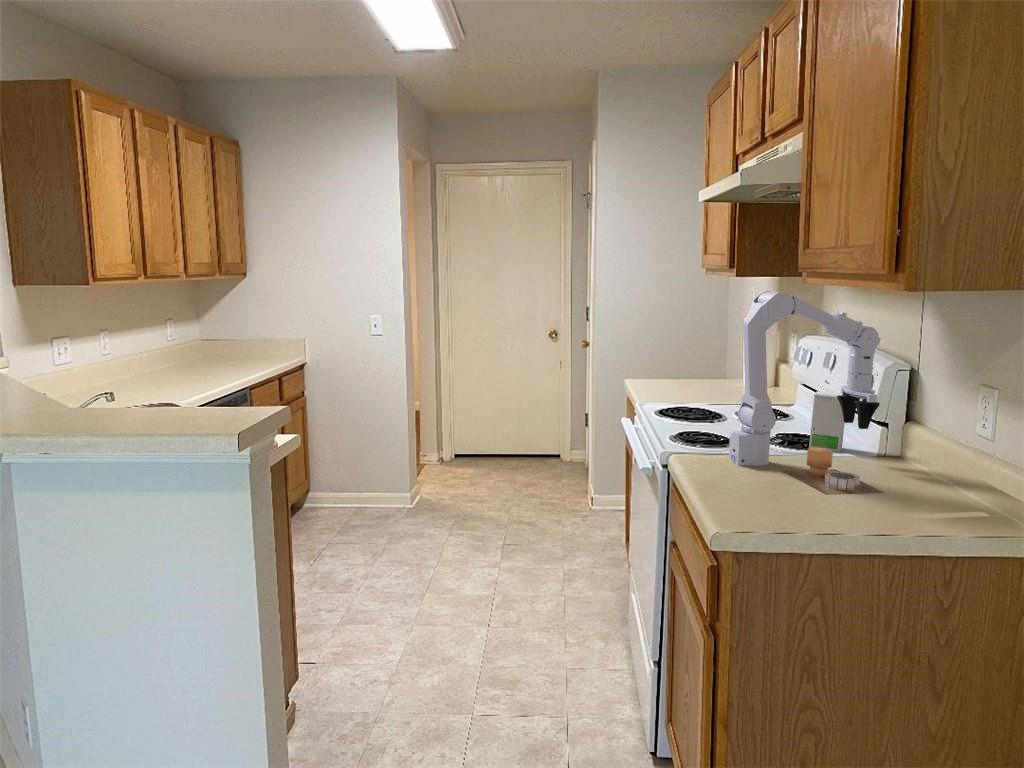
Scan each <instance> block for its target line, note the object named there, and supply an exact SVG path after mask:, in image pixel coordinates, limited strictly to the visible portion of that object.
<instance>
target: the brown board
mask: <svg viewBox="0 0 1024 768" xmlns="http://www.w3.org/2000/svg"><path fill="white" fill-rule="evenodd" d="M782 472H783V473H784V474H786V475H788V476H790V477H792V478H794V479H796V480H798V481H799V482H801V483H803V484H804V485H807V486H809V487H811V488H812V489H813V490H814V489H815V490H816V491H818V492H820V493H821V494H824V495H853V494H858V495H859V494H884V493H885V491H882V490H881V489H879V488H877V487H874V486H872V485H870V484H867V483H865V482H863V481H861V480H860V484H859V490H856V491H840V490H834V489H830V488H828V487H826V486H824V484H825V477H815V476H811V475H810V474H809V473H810V469H807V470H805V469H802V470H801V469H799V470H797V469H796V470H782ZM828 472H841V471H840V470H839V469H831V468H829V469H828ZM885 494H886V493H885Z"/></svg>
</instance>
